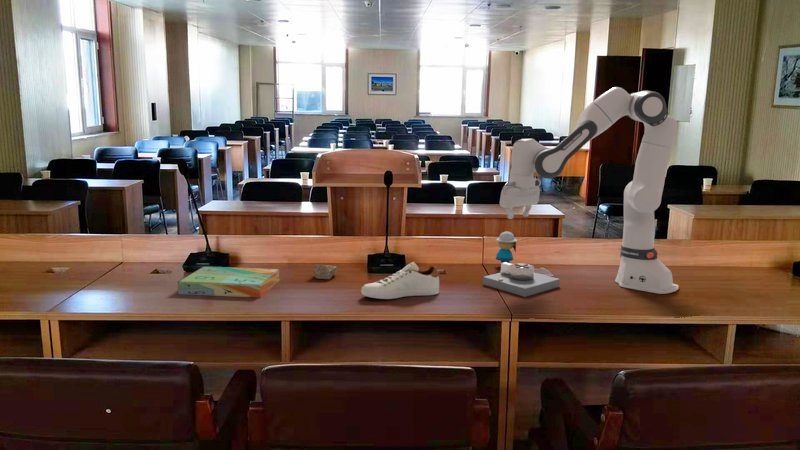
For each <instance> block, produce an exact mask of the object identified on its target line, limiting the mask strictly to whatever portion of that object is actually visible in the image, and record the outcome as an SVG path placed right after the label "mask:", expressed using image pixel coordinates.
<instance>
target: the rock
mask: <svg viewBox="0 0 800 450" xmlns="http://www.w3.org/2000/svg"><path fill="white" fill-rule="evenodd" d="M312 269H313V272H312V273H313V274H314V276H315V278H316V279H317V280H330V279H331V278H332V277H333V275H335V274H336V272H338V271H339V268H338V266H336V265H329V264H328V265H324V264H314V265H313V266H312Z"/></svg>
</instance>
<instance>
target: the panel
mask: <svg viewBox="0 0 800 450" xmlns="http://www.w3.org/2000/svg"><path fill="white" fill-rule="evenodd" d="M560 281H561V279H560V278H557V277H554V276H550V275H545V274H542V273H539V272H538V273H537V272H534V278H533V279H531V280H516V279H512V278H510V277H509V274H508V273H504V272H501V270H500V271H499V272H497V273H492V274H488V275H485V276H483V277H482V285H484V286H487V287H490V288H494V289H497V290H501V291H505V292H507V293H512V294H515V295H518V296H521V297H524V298H526V297H529V296H533V295H536V294H540V293H543V292H546V291H549V290H553V289H556V288H560V283H561V282H560Z"/></svg>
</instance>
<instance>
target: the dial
mask: <svg viewBox="0 0 800 450" xmlns="http://www.w3.org/2000/svg"><path fill="white" fill-rule="evenodd" d="M500 271H501V272H504V273H508V274H509V277H510V278H512V279H516V280H531V279H533V278H534V273H535V266H534V265H532V264H529V263H522V262H521V263H507V262H503V263H501V262H500Z"/></svg>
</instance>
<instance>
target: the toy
mask: <svg viewBox="0 0 800 450" xmlns="http://www.w3.org/2000/svg"><path fill="white" fill-rule="evenodd" d="M495 241H497V242H498V246H499V248H500V249H499V250H498V251H497V253H496V255H495V256H496V257H495V260H497V261H500V264H501V263H503V262H507V263H510V262H512V261H514V256H513V253H512V249H513V250H514V252H515V253H516V251H517V242H518V239H517V238H515V236H514V234H513V233H512V232H511V231H503V232H501V233H500V234H499V237H498V238H496V239H495Z"/></svg>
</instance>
